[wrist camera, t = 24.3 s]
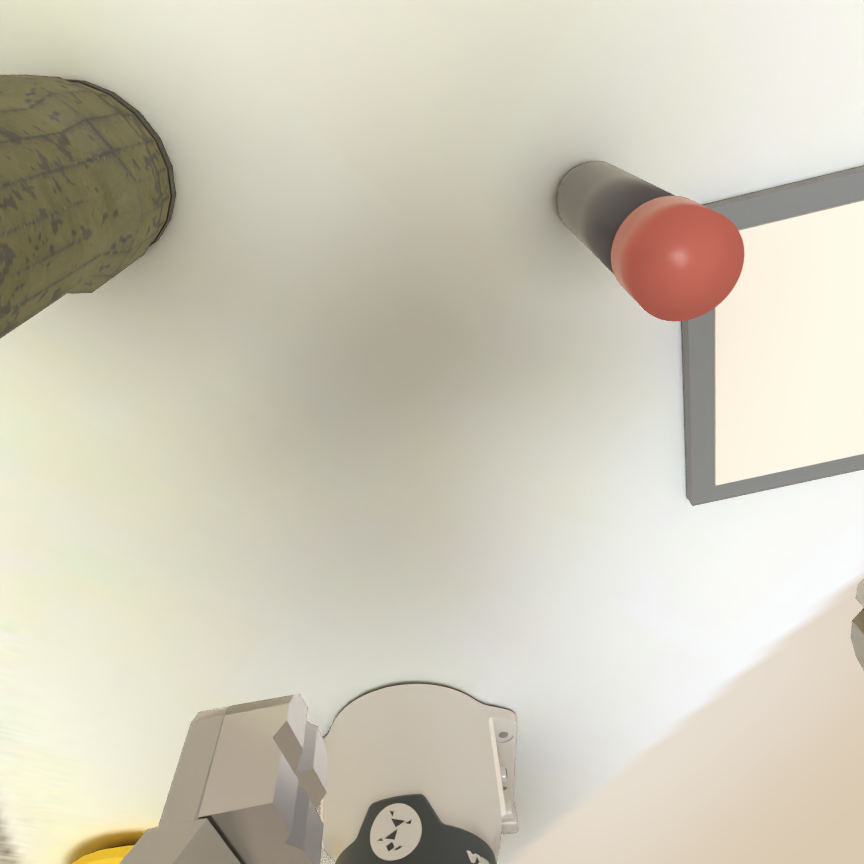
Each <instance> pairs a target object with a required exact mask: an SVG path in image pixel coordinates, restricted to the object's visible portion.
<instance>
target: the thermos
mask: <svg viewBox="0 0 864 864" xmlns="http://www.w3.org/2000/svg"><path fill="white" fill-rule="evenodd" d="M175 196H176V192H175V184H174V176H173V168H172V165H171V162H170V160H169V158H168V155H167V153H166V151H165V148H164V146H163V144H162V141H161V139H160V137H159V136H158V135H157V134H156V132H155V131H154V130H153V128H152V127H151V126H150V125H149V123H148V122H147V121H146V119H145V118H144V117H143V116H142V114H141V113H140V112H139V111H137V110H136V109H135V108H133V107H132V106H131V105H129V104H128V103H127V102H126V101H124V100H123V99H122V98H120V97H119V96H118V95H117V94H115V93H114V92H111V91H109V90H106V89H104V88H101V87H99V86H96V85H94V84H91V83H89V82H86V81H81V80H67V79H62V78H60V77H48V76H35V75H0V338H2V337H3V336H5V335H6V334H8V333H9V332H11V331H12V330H14V329H15V328H16V327H18V326H19V325H21V324H22V323H24V322H25V321H27V320H28V319H30V318H31V317H33V316H34V315H36V314H37V313H39V312H40V311H42V310H43V309H45V308H46V307H47V306H49V305H50V304H52V303H53V302H55V301H56V300H58V299H59V298H61V297H62V296H64V295H65V294H67V293H92V292H93V291H95V290H96V289H97V288H99V287H100V286H102V285H103V284H104V283H106V282H107V281H108V280H110V279H111V278H113V277H114V276H115V275H117V274H118V273H119V272H121V271H122V270H123V269H125V268H126V267H128V266H129V265H130V264H132V263H133V262H134V261H136V260H137V259H138V258H140V257H141V256H142V255H144V254H145V252H146V251H147V249H148V247H149V246H151V245H152V244H153V243H155V242H156V241H157V240H159V238H160V236H161V235H162V233H163V232H164V230H165V228H166V227H167V225H168V224H169V222H170V220H171V217H172V212H173V206H174V201H175Z"/></svg>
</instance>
